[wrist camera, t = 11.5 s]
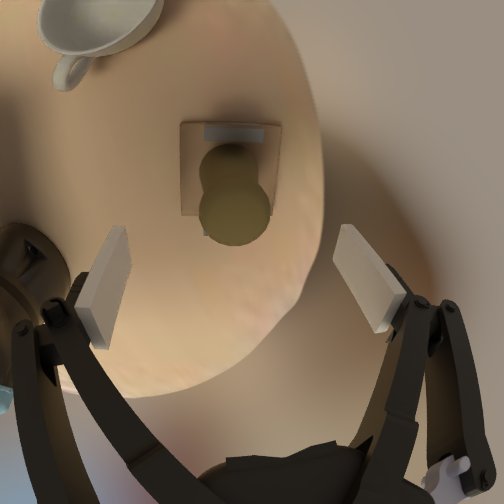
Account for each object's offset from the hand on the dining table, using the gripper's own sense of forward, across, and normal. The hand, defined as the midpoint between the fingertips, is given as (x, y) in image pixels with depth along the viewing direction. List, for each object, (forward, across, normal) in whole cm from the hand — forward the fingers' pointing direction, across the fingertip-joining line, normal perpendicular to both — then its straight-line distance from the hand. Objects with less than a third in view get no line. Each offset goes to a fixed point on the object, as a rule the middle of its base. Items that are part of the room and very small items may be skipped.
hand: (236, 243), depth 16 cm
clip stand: (+15, 0, 0) cm, 15 cm away
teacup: (+15, -12, +16) cm, 26 cm away
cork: (+14, 0, 0) cm, 14 cm away
